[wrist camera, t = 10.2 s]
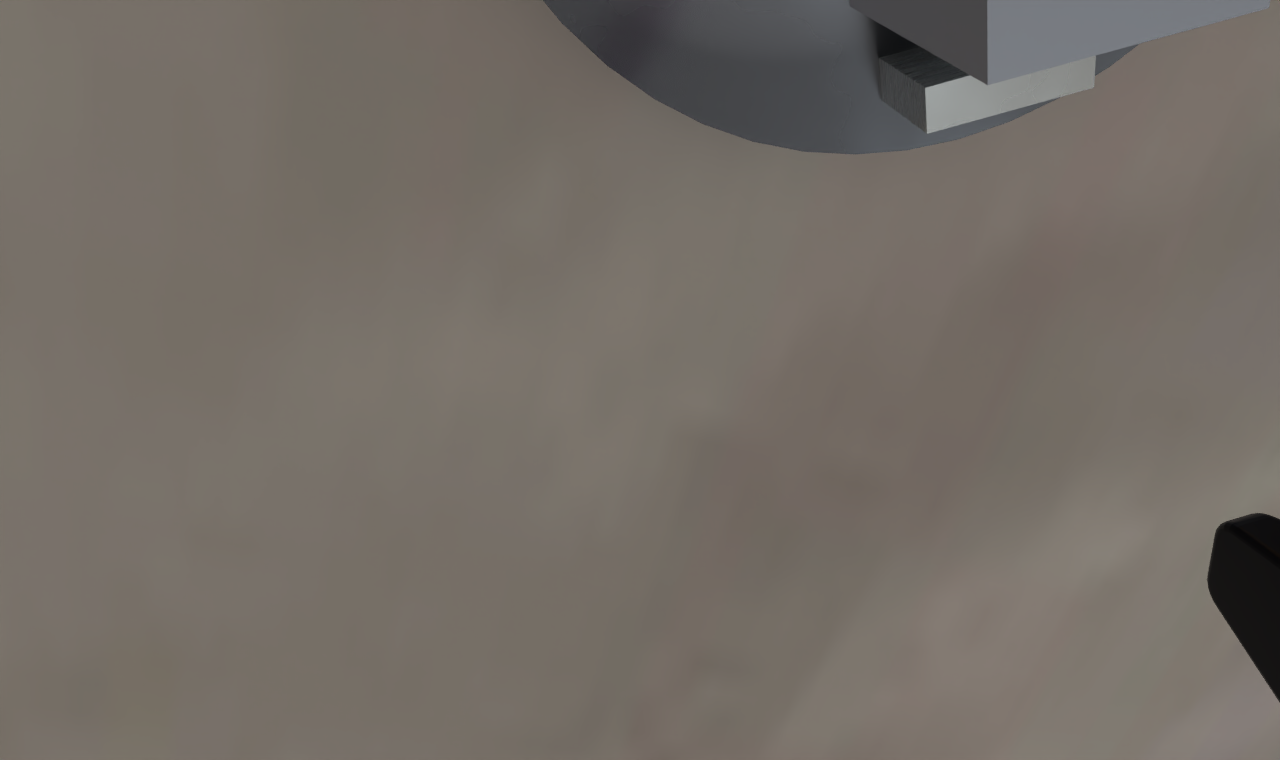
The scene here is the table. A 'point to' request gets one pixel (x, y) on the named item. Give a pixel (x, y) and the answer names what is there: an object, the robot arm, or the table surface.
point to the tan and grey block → (1040, 28)
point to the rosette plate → (806, 72)
